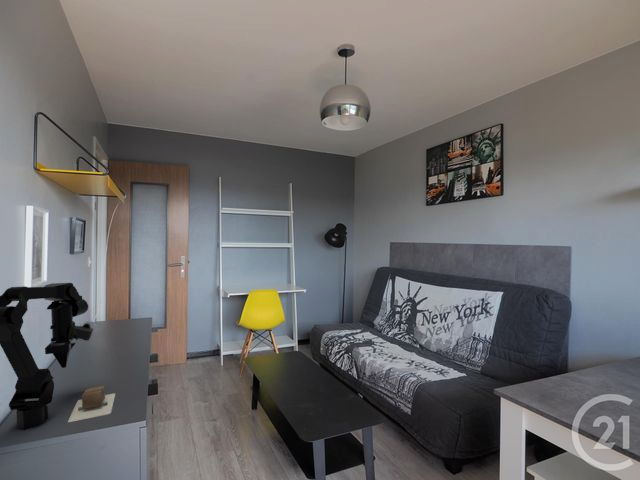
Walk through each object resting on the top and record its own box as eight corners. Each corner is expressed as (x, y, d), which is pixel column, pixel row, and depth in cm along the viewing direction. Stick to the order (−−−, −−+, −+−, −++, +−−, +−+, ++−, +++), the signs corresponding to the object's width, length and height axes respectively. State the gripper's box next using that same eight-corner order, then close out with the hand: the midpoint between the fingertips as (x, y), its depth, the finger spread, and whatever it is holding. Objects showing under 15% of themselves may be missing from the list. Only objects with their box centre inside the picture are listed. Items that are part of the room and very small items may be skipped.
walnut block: (100, 391, 116) (104, 385, 124) (82, 395, 114) (87, 388, 122) (101, 405, 116) (104, 397, 124) (82, 408, 114) (87, 401, 122)
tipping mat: (110, 416, 112) (110, 410, 112) (67, 425, 107) (67, 419, 107) (115, 395, 128) (115, 390, 128) (78, 402, 123) (77, 397, 123)
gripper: (86, 322, 117) (88, 371, 118) (94, 313, 134) (96, 355, 134) (43, 327, 113) (45, 378, 113) (57, 316, 130) (59, 361, 130)
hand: (64, 367), depth 123 cm, fingers closed
